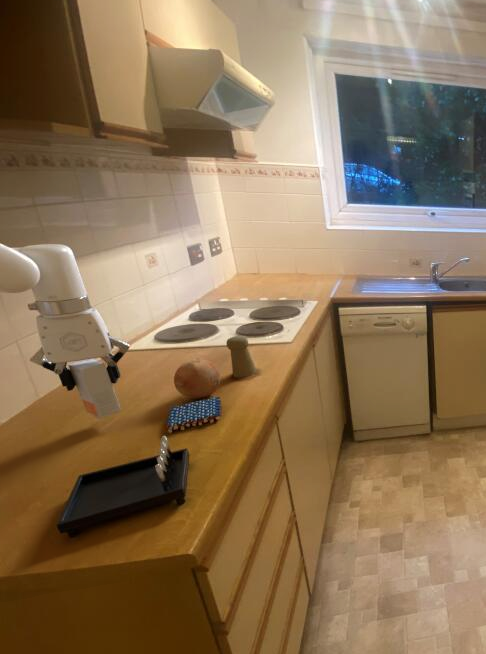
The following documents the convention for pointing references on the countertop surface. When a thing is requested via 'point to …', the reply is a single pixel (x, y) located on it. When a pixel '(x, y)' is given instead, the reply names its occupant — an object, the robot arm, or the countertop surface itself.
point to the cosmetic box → (95, 388)
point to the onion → (197, 378)
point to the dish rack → (126, 489)
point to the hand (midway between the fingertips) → (93, 384)
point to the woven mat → (194, 413)
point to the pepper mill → (240, 357)
